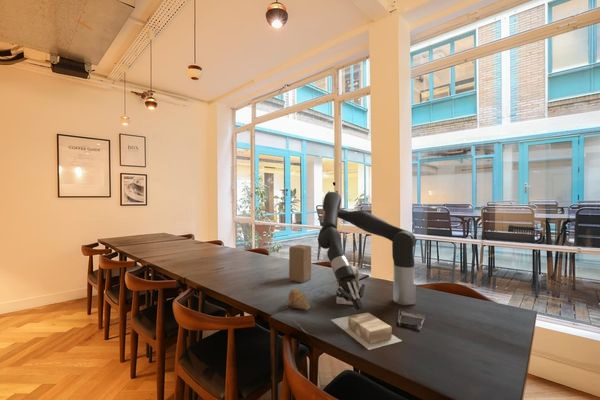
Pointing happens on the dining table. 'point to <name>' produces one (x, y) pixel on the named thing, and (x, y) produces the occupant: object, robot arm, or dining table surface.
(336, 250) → the robot arm
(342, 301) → the tea box
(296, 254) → the wooden block
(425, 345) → the dining table surface
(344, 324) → the felt mat
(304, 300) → the seashell
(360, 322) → the maple slab
